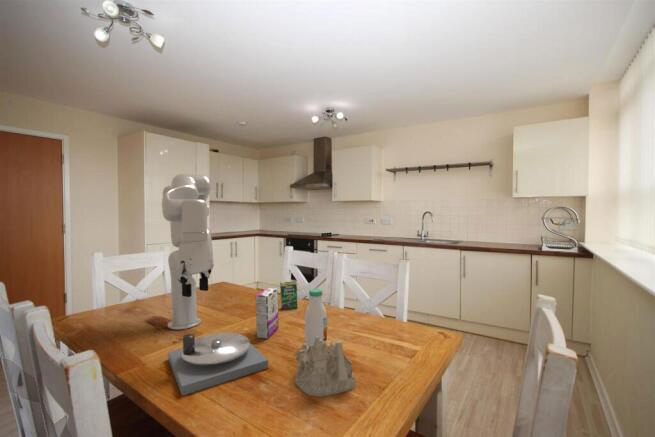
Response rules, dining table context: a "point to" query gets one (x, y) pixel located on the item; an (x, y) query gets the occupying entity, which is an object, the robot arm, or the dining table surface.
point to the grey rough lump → (323, 369)
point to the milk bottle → (315, 318)
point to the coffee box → (288, 295)
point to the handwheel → (213, 348)
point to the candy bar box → (267, 312)
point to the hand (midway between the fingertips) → (195, 292)
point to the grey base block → (214, 370)
